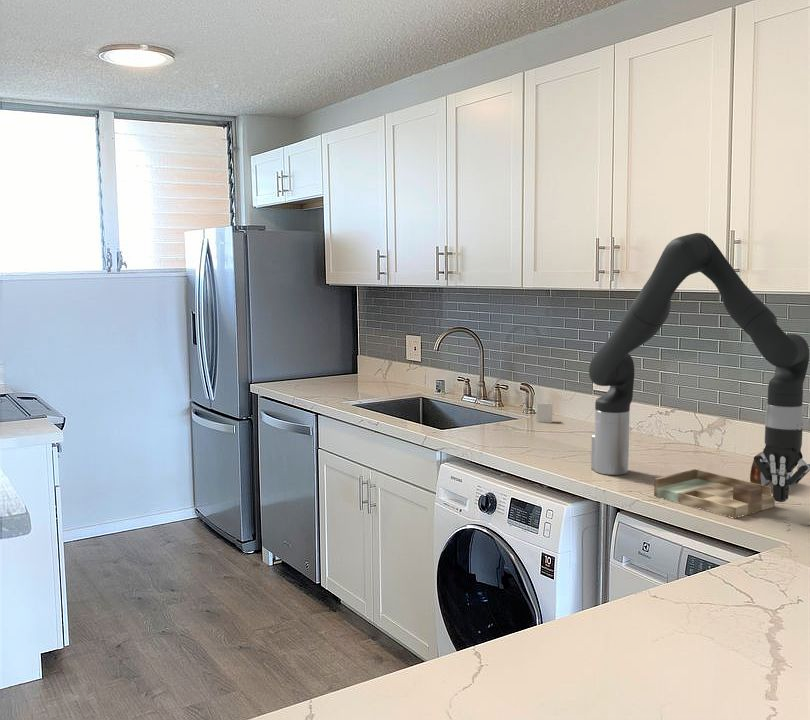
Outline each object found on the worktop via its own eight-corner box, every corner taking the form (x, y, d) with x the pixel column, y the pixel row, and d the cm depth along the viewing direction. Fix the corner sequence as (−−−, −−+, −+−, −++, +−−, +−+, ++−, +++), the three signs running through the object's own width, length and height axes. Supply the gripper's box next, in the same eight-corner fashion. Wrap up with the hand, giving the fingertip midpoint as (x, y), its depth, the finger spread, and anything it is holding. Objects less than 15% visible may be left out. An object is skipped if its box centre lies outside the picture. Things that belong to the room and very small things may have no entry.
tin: (765, 477, 219) (767, 446, 218) (778, 479, 217) (779, 448, 216) (748, 489, 207) (749, 457, 206) (761, 491, 205) (762, 458, 204)
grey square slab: (537, 421, 301) (537, 401, 300) (556, 422, 299) (556, 402, 298) (536, 423, 297) (536, 403, 297) (555, 424, 295) (555, 404, 295)
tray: (654, 496, 201) (654, 478, 201) (694, 486, 210) (694, 469, 210) (734, 518, 183) (734, 499, 183) (774, 506, 192) (775, 488, 192)
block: (732, 499, 189) (733, 486, 189) (744, 496, 192) (744, 483, 192) (750, 503, 186) (751, 491, 185) (761, 500, 188) (762, 488, 188)
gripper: (746, 422, 183) (743, 497, 185) (803, 431, 173) (799, 511, 174) (765, 418, 188) (762, 492, 190) (822, 427, 177) (818, 505, 179)
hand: (780, 501), depth 182 cm, fingers closed
